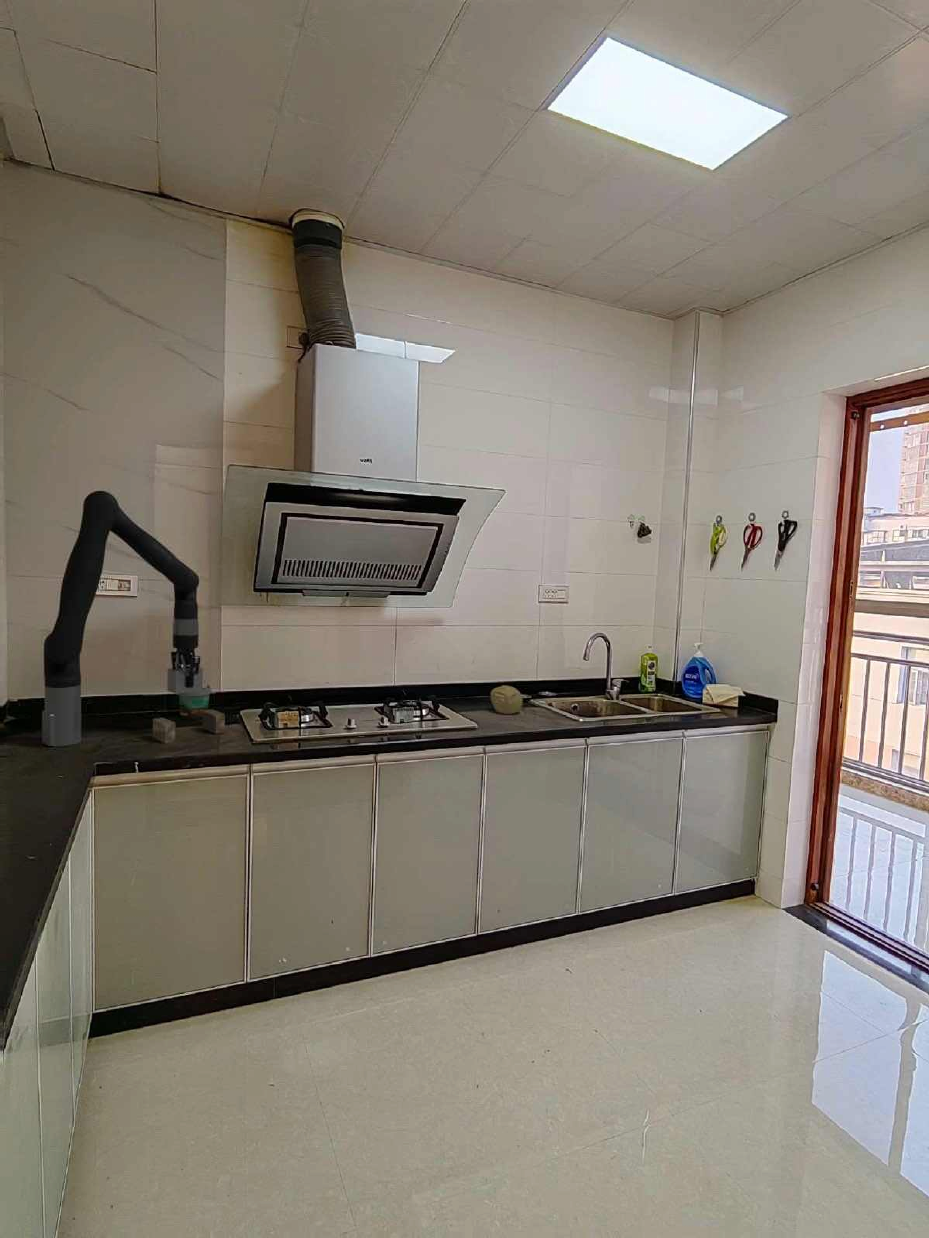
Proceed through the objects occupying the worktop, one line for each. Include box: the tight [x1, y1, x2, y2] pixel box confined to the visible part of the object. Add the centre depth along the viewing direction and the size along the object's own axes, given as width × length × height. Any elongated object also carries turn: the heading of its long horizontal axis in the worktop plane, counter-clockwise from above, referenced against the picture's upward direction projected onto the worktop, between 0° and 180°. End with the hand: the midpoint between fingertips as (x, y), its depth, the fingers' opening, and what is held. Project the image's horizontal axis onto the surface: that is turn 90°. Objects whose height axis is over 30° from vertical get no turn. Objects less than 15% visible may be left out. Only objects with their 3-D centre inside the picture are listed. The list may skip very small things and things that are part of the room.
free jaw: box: [201, 709, 226, 735], centre depth 225 cm, size 3×8×6 cm, turn 49°
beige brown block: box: [152, 717, 177, 744], centre depth 213 cm, size 3×8×6 cm, turn 49°
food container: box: [176, 684, 212, 719], centre depth 244 cm, size 12×6×10 cm, turn 143°
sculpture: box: [490, 684, 524, 715], centre depth 274 cm, size 11×12×11 cm
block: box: [166, 667, 204, 695], centre depth 220 cm, size 9×5×7 cm, turn 141°
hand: (185, 685), depth 220 cm, fingers closed on block, 5 cm apart
